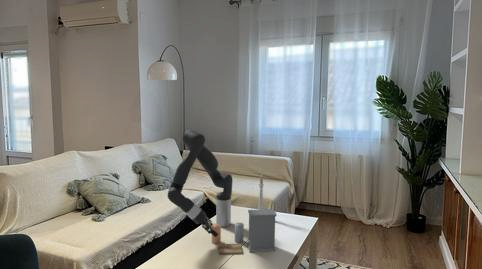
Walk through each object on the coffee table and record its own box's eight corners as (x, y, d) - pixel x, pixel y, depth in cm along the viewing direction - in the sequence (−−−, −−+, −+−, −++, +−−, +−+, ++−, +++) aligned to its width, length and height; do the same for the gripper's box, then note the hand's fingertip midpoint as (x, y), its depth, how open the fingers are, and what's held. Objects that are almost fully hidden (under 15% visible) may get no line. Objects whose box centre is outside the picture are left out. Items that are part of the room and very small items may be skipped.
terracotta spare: (211, 240, 194) (211, 223, 193) (220, 240, 195) (220, 223, 194) (212, 244, 189) (212, 227, 188) (220, 243, 190) (221, 226, 189)
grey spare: (234, 239, 196) (234, 222, 195) (242, 239, 197) (243, 222, 195) (235, 243, 191) (235, 226, 190) (243, 242, 192) (244, 225, 190)
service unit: (247, 245, 189) (248, 209, 186) (272, 244, 190) (273, 209, 188) (249, 252, 181) (250, 215, 178) (275, 251, 182) (276, 214, 180)
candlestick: (264, 222, 222) (265, 177, 218) (247, 218, 229) (248, 174, 225) (273, 216, 233) (274, 173, 229) (257, 212, 240) (258, 171, 236)
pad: (218, 246, 187) (218, 244, 187) (240, 245, 189) (240, 243, 189) (219, 254, 178) (219, 252, 178) (242, 253, 179) (242, 251, 179)
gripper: (200, 213, 182) (222, 233, 184) (200, 204, 196) (220, 223, 199) (190, 223, 182) (212, 242, 184) (191, 213, 196) (211, 232, 199)
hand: (216, 232), depth 192 cm, fingers open, 8 cm apart
